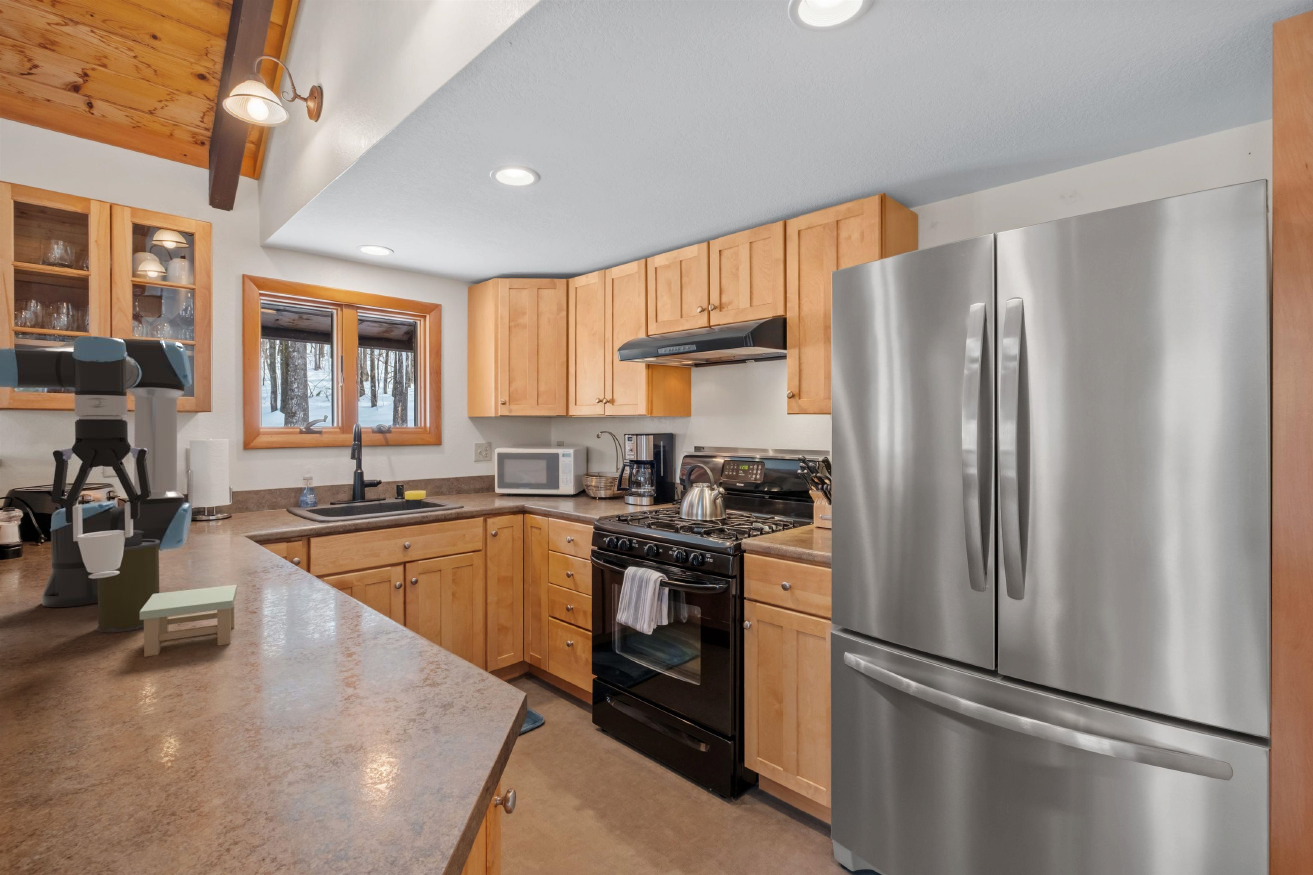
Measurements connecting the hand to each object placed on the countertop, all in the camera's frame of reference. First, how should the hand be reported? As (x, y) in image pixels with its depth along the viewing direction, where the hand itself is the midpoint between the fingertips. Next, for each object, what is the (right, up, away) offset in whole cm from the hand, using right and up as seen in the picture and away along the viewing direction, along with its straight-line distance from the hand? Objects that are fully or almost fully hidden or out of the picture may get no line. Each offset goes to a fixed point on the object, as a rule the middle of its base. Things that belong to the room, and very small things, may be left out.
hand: (104, 537), depth 119 cm
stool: (+15, -21, +3) cm, 26 cm away
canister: (-6, -21, +13) cm, 25 cm away
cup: (0, -7, 0) cm, 7 cm away
